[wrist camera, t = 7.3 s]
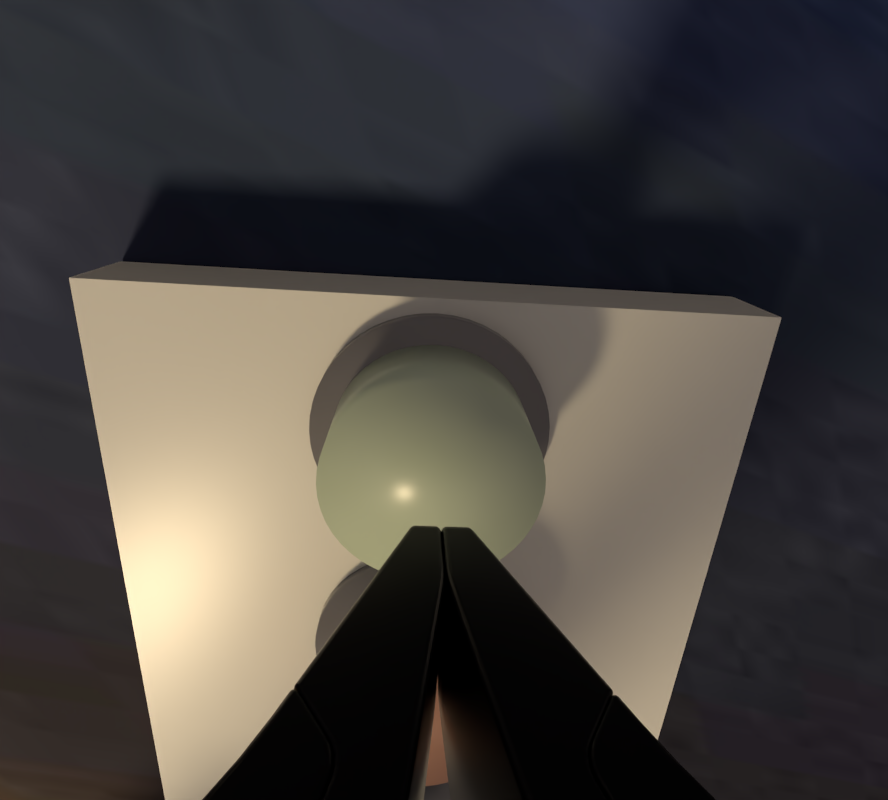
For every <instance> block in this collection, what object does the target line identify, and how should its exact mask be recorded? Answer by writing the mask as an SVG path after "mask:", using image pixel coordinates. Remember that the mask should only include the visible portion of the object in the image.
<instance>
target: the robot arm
mask: <svg viewBox="0 0 888 800" xmlns="http://www.w3.org/2000/svg"><path fill="white" fill-rule="evenodd" d="M437 684H438V700H439V711H440V719H441V727H442V735H443V743H444V751H445V759H446V767H447V776H448V784H449V792H450V800H715V799H714V798H713V797H712V796H711V795H710V794H709V793H708V792H707V791H706V790H705V789H704V788H703V787H702V786H701V785H700V784H699V783H698V782H697V781H696V780H695V779H694V778H693V777H692V776H691V775H690V774H689V773H688V772H687V771H686V770H685V769H684V768H683V767H682V766H681V765H680V764H679V763H678V762H677V761H676V760H675V759H674V757H673V756H672V755H671V754H670V753H669V752H668V751H667V750H666V749H665V748H664V747H663V746H662V744H661V743H660V742H659V741H658V740H657V739H656V738H655V737H654V736H653V735H652V734H651V732H650V731H649V730H648V729H647V728H646V727H645V726H644V725H643V724H642V723H641V722H640V721H639V719H638V718H637V717H636V716H635V715H634V714H633V713H632V711H631V710H630V709H629V708H628V707H627V706H626V705H625V703H624V702H623V701H622V700H621V699H620V698H619V697H618V696H617V695H613V691H612V689H611V688H610V687H609V685H608V684H607V683H606V682H605V681H604V680H603V679H602V677H601V676H600V675H599V674H598V673H597V672H596V671H595V669H594V668H593V667H592V666H591V665H590V664H589V663H588V661H587V660H586V659H585V658H584V657H583V656H582V655H581V653H580V652H579V651H578V650H577V649H576V648H575V647H574V645H573V644H572V643H571V642H570V641H569V640H568V639H567V637H566V636H565V635H564V634H563V633H562V632H561V631H560V629H559V628H558V627H557V626H556V625H555V624H554V623H553V621H552V620H551V619H550V618H549V617H548V616H547V615H546V613H545V612H544V611H543V610H542V609H541V608H540V607H539V605H538V604H537V603H536V602H535V601H534V600H533V599H532V597H531V596H530V595H529V594H528V593H527V592H526V591H525V589H524V588H523V587H522V586H521V585H520V584H519V583H518V581H517V580H516V579H515V578H514V577H513V576H512V575H511V573H510V572H509V571H508V570H507V569H506V568H505V566H504V565H503V564H502V563H501V562H500V561H499V560H498V558H497V557H496V556H495V555H494V554H493V553H492V552H491V550H490V549H489V548H488V547H487V546H486V545H485V544H484V542H483V541H482V540H481V539H480V538H479V537H478V536H477V534H476V533H475V532H474V531H473V530H472V529H471V528H469V527H444V528H442V530H440V528H438V527H437V526H412V527H411V528H410V529H409V530H408V531H407V533H406V534H405V535H404V537H403V538H402V540H401V541H400V542H399V544H398V545H397V546H396V548H395V549H394V550H393V552H392V553H391V555H390V556H389V557H388V559H387V560H386V561H385V563H384V564H383V565H382V567H381V568H380V570H379V571H378V572H377V574H376V575H375V576H374V578H373V579H372V580H371V582H370V583H369V584H368V586H367V587H366V589H365V590H364V591H363V593H362V594H361V595H360V597H359V598H358V599H357V601H356V602H355V604H354V605H353V606H352V608H351V609H350V610H349V612H348V613H347V614H346V616H345V617H344V619H343V620H342V621H341V623H340V624H339V625H338V627H337V628H336V629H335V631H334V632H333V634H332V635H331V636H330V638H329V639H328V640H327V642H326V643H325V644H324V646H323V647H322V649H321V650H320V651H319V653H318V654H317V655H316V657H315V658H314V659H313V661H312V662H311V664H310V665H309V666H308V668H307V669H306V670H305V672H304V673H303V674H302V676H301V677H300V679H299V680H298V681H297V683H296V684H295V686H294V689H293V690H291V691H290V692H289V693H288V694H287V696H286V697H285V698H284V700H283V701H282V703H281V704H280V705H279V707H278V708H277V709H276V711H275V712H274V714H273V715H272V716H271V718H270V719H269V720H268V721H267V723H266V724H265V725H264V727H263V728H262V729H261V730H260V732H259V733H258V734H257V735H256V737H255V738H254V739H253V741H252V742H251V743H250V744H249V746H248V747H247V748H246V749H245V751H244V752H243V753H242V755H241V756H240V757H239V758H238V759H237V761H236V762H235V763H234V764H233V765H232V766H231V767H230V769H229V770H228V771H227V772H226V773H225V774H224V775H223V776H222V778H221V779H220V780H219V781H218V782H217V783H216V784H215V786H214V787H213V788H212V789H211V790H210V791H209V792H208V794H207V795H206V796H205V797H204V798H203V799H202V800H424V793H425V785H426V777H427V769H428V761H429V752H430V744H431V736H432V728H433V719H434V711H435V700H436V689H437Z"/></svg>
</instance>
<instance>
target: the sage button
mask: <svg viewBox="0 0 888 800" xmlns="http://www.w3.org/2000/svg"><path fill="white" fill-rule="evenodd" d="M545 487H546V473H545V464H544V460H543V456H542V452H541V450H540V447H539V445H538V442H537V440H536V437H535V435H534V432H533V430H532V428H531V425H530V423H529V420H528V418H527V416H526V413H525V411H524V408H523V406H522V403H521V401H520V399H519V396H518V395H517V393H516V391H515V389H514V388H513V386H512V385H511V384H510V382H509V381H508V380H507V378H506V377H505V376H504V375H503V374H502V373H501V372H500V371H499V370H498V369H497V368H495V367H494V366H493V365H491V364H490V363H489V362H487V361H486V360H484V359H482V358H480V357H479V356H477V355H475V354H472V353H470V352H467V351H465V350H462V349H458V348H454V347H450V346H441V345H419V346H412V347H407V348H403V349H399V350H396V351H393V352H391V353H389V354H386V355H384V356H382V357H380V358H379V359H377V360H375V361H373V362H372V363H371V364H369V365H368V366H367V367H365V368H364V369H363V370H362V371H361V372H360V373H359V374H358V375H357V376H356V377H355V378H354V379H353V380H352V381H351V383H350V384H349V385H348V387H347V388H346V390H345V391H344V393H343V395H342V397H341V399H340V401H339V404H338V406H337V409H336V412H335V415H334V418H333V420H332V423H331V426H330V429H329V432H328V435H327V437H326V440H325V443H324V446H323V449H322V452H321V454H320V457H319V462H318V466H317V472H316V490H317V498H318V502H319V506H320V510H321V512H322V515H323V517H324V520H325V522H326V524H327V525H328V527H329V529H330V530H331V532H332V534H333V535H334V536H335V537H336V539H337V540H338V541H339V542H340V544H342V545H343V546H344V547H345V548H346V549H347V550H348V551H349V552H350V553H351V554H352V555H354V556H355V557H356V558H358V559H359V560H360V561H362V562H364V563H366V564H367V565H369V566H371V567H373V568H375V569H377V570H380V568H381V567H382V565H383V564H384V563H385V561H386V560H387V559H388V557H389V556H390V555H391V553H392V552H393V550H394V549H395V548H396V546H397V545H398V544H399V542H400V541H401V540H402V538H403V537H404V535H405V534H406V533H407V531H408V530H409V529H410V528H411V527H412V526H437V527H438V528H440V530H442V528H444V527H469V528H471V529H472V530H473V531H474V532H475V533H476V534H477V536H478V537H479V538H480V539H481V540H482V541H483V542H484V544H485V545H486V546H487V547H488V548H489V549H490V550H491V552H492V553H493V554H494V555H495V556H496V557H497V558H498V560H500V559H502V558H504V557H505V556H506V555H507V554H509V553H510V552H511V551H512V550H513V549H515V548H516V547H517V545H518V544H519V543H520V542H521V541H522V540H523V539H524V538H525V536H526V535H527V534H528V532H529V531H530V530H531V528H532V526H533V525H534V523H535V521H536V519H537V517H538V515H539V512H540V510H541V507H542V504H543V499H544V495H545Z"/></svg>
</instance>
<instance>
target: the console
mask: <svg viewBox="0 0 888 800" xmlns="http://www.w3.org/2000/svg"><path fill="white" fill-rule="evenodd" d="M69 281H70V286H71V292H72V297H73V303H74V308H75V314H76V319H77V324H78V330H79V335H80V341H81V346H82V352H83V357H84V362H85V368H86V373H87V379H88V384H89V390H90V395H91V400H92V406H93V411H94V417H95V422H96V428H97V433H98V438H99V444H100V449H101V455H102V460H103V466H104V471H105V476H106V482H107V487H108V493H109V498H110V504H111V509H112V514H113V520H114V525H115V531H116V536H117V542H118V547H119V552H120V558H121V563H122V569H123V574H124V580H125V585H126V590H127V596H128V601H129V607H130V612H131V618H132V623H133V628H134V634H135V639H136V645H137V650H138V656H139V661H140V666H141V672H142V677H143V683H144V688H145V694H146V699H147V704H148V710H149V715H150V721H151V726H152V732H153V737H154V742H155V748H156V753H157V759H158V764H159V770H160V775H161V780H162V786H163V791H164V797H165V800H202V799H203V798H204V797H205V796H206V795H207V794H208V792H209V791H210V790H211V789H212V788H213V787H214V786H215V784H216V783H217V782H218V781H219V780H220V779H221V778H222V776H223V775H224V774H225V773H226V772H227V771H228V770H229V769H230V767H231V766H232V765H233V764H234V763H235V762H236V761H237V759H238V758H239V757H240V756H241V755H242V753H243V752H244V751H245V749H246V748H247V747H248V746H249V744H250V743H251V742H252V741H253V739H254V738H255V737H256V735H257V734H258V733H259V732H260V730H261V729H262V728H263V727H264V725H265V724H266V723H267V721H268V720H269V719H270V718H271V716H272V715H273V714H274V712H275V711H276V709H277V708H278V707H279V705H280V704H281V703H282V701H283V700H284V698H285V697H286V696H287V694H288V693H289V692H290V691H291V690H293V689H294V686H295V684H296V683H297V681H298V680H299V679H300V677H301V676H302V674H303V673H304V672H305V670H306V669H307V668H308V666H309V665H310V664H311V662H312V661H313V659H314V658H315V657H316V655H317V654H318V653H319V651H320V650H321V649H322V647H323V646H324V644H325V643H326V642H327V640H328V639H329V638H330V636H331V635H332V634H333V632H334V631H335V629H336V628H337V627H338V625H339V624H340V623H341V621H342V620H343V619H344V617H345V616H346V614H347V613H348V612H349V610H350V609H351V608H352V606H353V605H354V604H355V602H356V601H357V599H358V598H359V597H360V595H361V594H362V593H363V591H364V590H365V589H366V587H367V586H368V584H369V583H370V582H371V580H372V579H373V578H374V576H375V575H376V574H377V572H378V571H379V570H377V569H375V568H373V567H371V566H369V565H367V564H366V563H364V562H362V561H360V560H359V559H358V558H356V557H355V556H354V555H352V554H351V553H350V552H349V551H348V550H347V549H346V548H345V547H344V546H343V545H342V544H340V542H339V541H338V540H337V539H336V537H335V536H334V535H333V534H332V532H331V530H330V529H329V527H328V525H327V524H326V522H325V520H324V517H323V515H322V512H321V510H320V506H319V502H318V498H317V490H316V472H317V466H318V462H319V457H320V454H321V452H322V449H323V446H324V443H325V440H326V437H327V435H328V432H329V429H330V426H331V423H332V420H333V418H334V415H335V412H336V409H337V406H338V404H339V401H340V399H341V397H342V395H343V393H344V391H345V390H346V388H347V387H348V385H349V384H350V383H351V381H352V380H353V379H354V378H355V377H356V376H357V375H358V374H359V373H360V372H361V371H362V370H363V369H364V368H365V367H367V366H368V365H369V364H371V363H372V362H373V361H375V360H377V359H379V358H380V357H382V356H384V355H386V354H389V353H391V352H393V351H396V350H399V349H403V348H407V347H412V346H419V345H441V346H450V347H454V348H458V349H462V350H465V351H467V352H470V353H472V354H475V355H477V356H479V357H480V358H482V359H484V360H486V361H487V362H489V363H490V364H491V365H493V366H494V367H495V368H497V369H498V370H499V371H500V372H501V373H502V374H503V375H504V376H505V377H506V378H507V380H508V381H509V382H510V384H511V385H512V386H513V388H514V389H515V391H516V393H517V395H518V396H519V399H520V401H521V403H522V406H523V408H524V411H525V413H526V416H527V418H528V420H529V423H530V425H531V428H532V430H533V432H534V435H535V437H536V440H537V442H538V445H539V447H540V450H541V452H542V456H543V460H544V464H545V473H546V487H545V495H544V499H543V504H542V507H541V510H540V512H539V515H538V517H537V519H536V521H535V523H534V525H533V526H532V528H531V530H530V531H529V532H528V534H527V535H526V536H525V538H524V539H523V540H522V541H521V542H520V543H519V544H518V545H517V547H516V548H515V549H513V550H512V551H511V552H510V553H509V554H507V555H506V556H505V557H504V558H502V559H500V560H499V561H500V562H501V563H502V564H503V565H504V566H505V568H506V569H507V570H508V571H509V572H510V573H511V575H512V576H513V577H514V578H515V579H516V580H517V581H518V583H519V584H520V585H521V586H522V587H523V588H524V589H525V591H526V592H527V593H528V594H529V595H530V596H531V597H532V599H533V600H534V601H535V602H536V603H537V604H538V605H539V607H540V608H541V609H542V610H543V611H544V612H545V613H546V615H547V616H548V617H549V618H550V619H551V620H552V621H553V623H554V624H555V625H556V626H557V627H558V628H559V629H560V631H561V632H562V633H563V634H564V635H565V636H566V637H567V639H568V640H569V641H570V642H571V643H572V644H573V645H574V647H575V648H576V649H577V650H578V651H579V652H580V653H581V655H582V656H583V657H584V658H585V659H586V660H587V661H588V663H589V664H590V665H591V666H592V667H593V668H594V669H595V671H596V672H597V673H598V674H599V675H600V676H601V677H602V679H603V680H604V681H605V682H606V683H607V684H608V685H609V687H610V688H611V689H612V691H613V695H617V696H618V697H619V698H620V699H621V700H622V701H623V702H624V703H625V705H626V706H627V707H628V708H629V709H630V710H631V711H632V713H633V714H634V715H635V716H636V717H637V718H638V719H639V721H640V722H641V723H642V724H643V725H644V726H645V727H646V728H647V729H648V730H649V731H650V732H651V734H652V735H653V736H654V737H655V738H656V739H657V740H658V737H659V734H660V730H661V727H662V723H663V720H664V717H665V713H666V710H667V706H668V703H669V700H670V696H671V693H672V689H673V686H674V683H675V679H676V676H677V672H678V669H679V666H680V662H681V659H682V655H683V652H684V649H685V645H686V642H687V638H688V635H689V632H690V628H691V625H692V621H693V618H694V614H695V611H696V608H697V604H698V601H699V597H700V594H701V591H702V587H703V584H704V580H705V577H706V574H707V570H708V567H709V563H710V560H711V557H712V553H713V550H714V546H715V543H716V540H717V536H718V533H719V529H720V526H721V523H722V519H723V516H724V512H725V509H726V505H727V502H728V499H729V495H730V492H731V488H732V485H733V482H734V478H735V475H736V471H737V468H738V465H739V461H740V458H741V454H742V451H743V448H744V444H745V441H746V437H747V434H748V431H749V427H750V424H751V420H752V417H753V414H754V410H755V407H756V403H757V400H758V396H759V393H760V390H761V386H762V383H763V379H764V376H765V373H766V369H767V366H768V362H769V359H770V356H771V352H772V349H773V345H774V342H775V339H776V335H777V332H778V328H779V325H780V322H781V318H782V317H779V316H777V315H775V314H772V313H770V312H768V311H765V310H763V309H760V308H758V307H756V306H753V305H751V304H749V303H746V302H744V301H742V300H739V299H737V298H735V297H731V296H714V295H697V294H679V293H662V292H644V291H627V290H610V289H592V288H575V287H558V286H540V285H523V284H506V283H488V282H471V281H453V280H436V279H419V278H401V277H384V276H367V275H349V274H332V273H314V272H297V271H280V270H262V269H245V268H228V267H210V266H193V265H175V264H158V263H141V262H123V261H120V262H117V263H114V264H111V265H108V266H104V267H101V268H98V269H95V270H92V271H89V272H86V273H82V274H79V275H76V276H73V277H70V278H69ZM424 800H450V792H449V784H448V782H447V783H443V784H438V785H432V786H425V793H424Z"/></svg>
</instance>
